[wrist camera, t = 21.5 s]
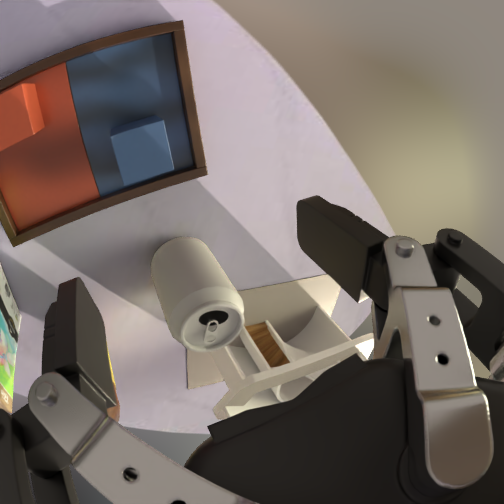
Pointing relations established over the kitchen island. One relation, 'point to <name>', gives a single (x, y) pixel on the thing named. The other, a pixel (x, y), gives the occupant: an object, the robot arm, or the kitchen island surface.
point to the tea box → (7, 342)
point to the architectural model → (277, 346)
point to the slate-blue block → (141, 149)
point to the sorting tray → (97, 128)
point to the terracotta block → (19, 114)
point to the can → (196, 295)
